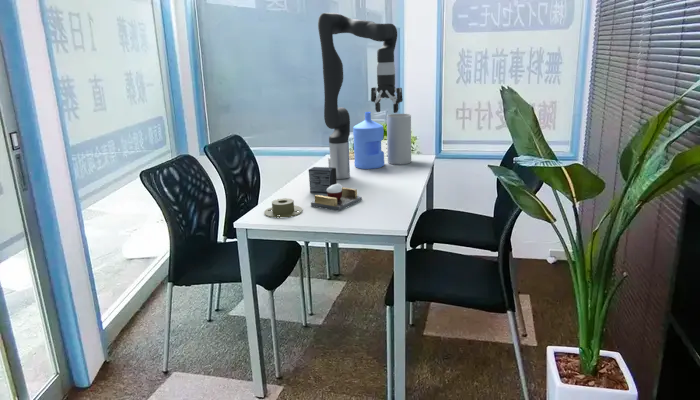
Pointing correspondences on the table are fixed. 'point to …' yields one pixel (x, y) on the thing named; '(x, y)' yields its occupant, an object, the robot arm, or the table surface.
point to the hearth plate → (346, 200)
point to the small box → (320, 179)
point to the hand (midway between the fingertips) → (386, 112)
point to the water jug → (368, 144)
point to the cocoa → (334, 187)
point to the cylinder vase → (399, 138)
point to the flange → (283, 208)
